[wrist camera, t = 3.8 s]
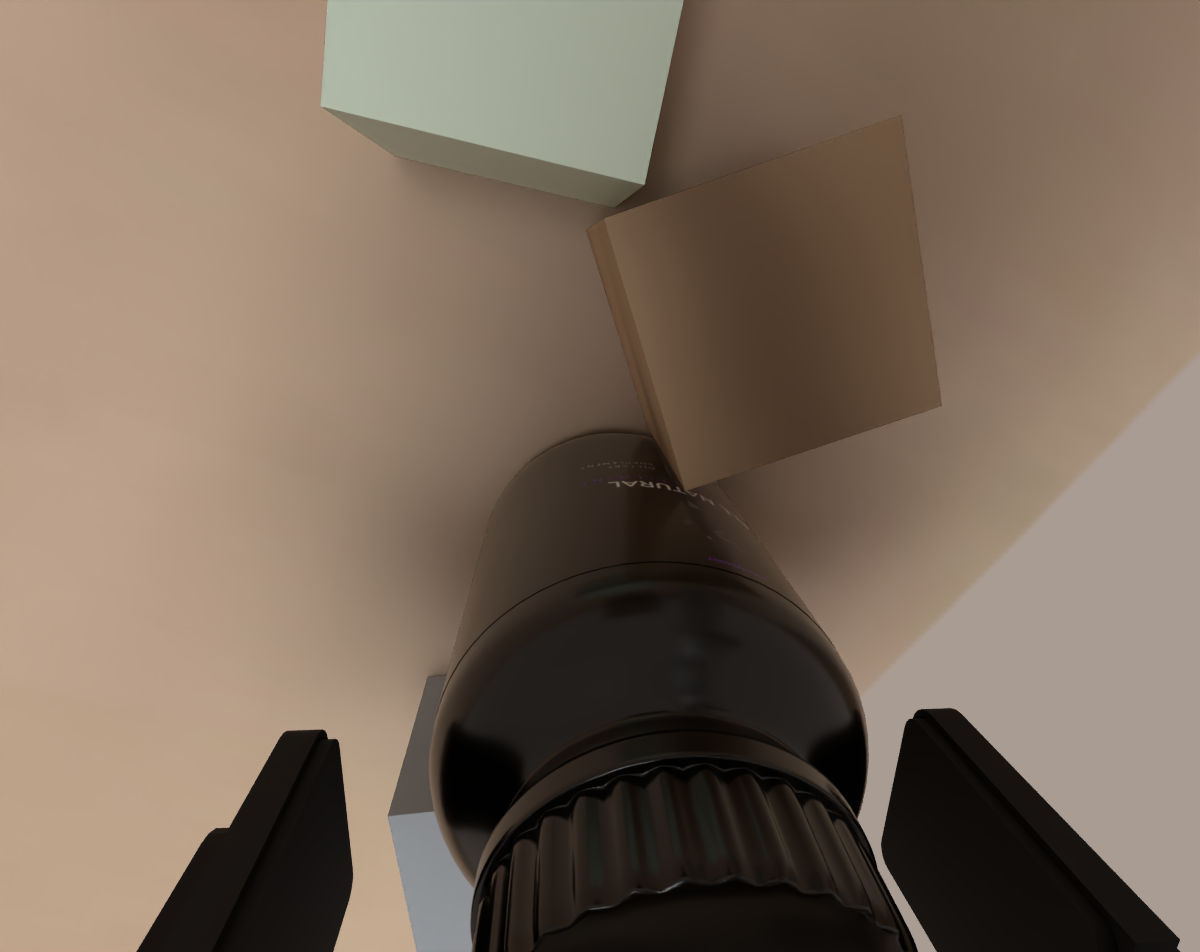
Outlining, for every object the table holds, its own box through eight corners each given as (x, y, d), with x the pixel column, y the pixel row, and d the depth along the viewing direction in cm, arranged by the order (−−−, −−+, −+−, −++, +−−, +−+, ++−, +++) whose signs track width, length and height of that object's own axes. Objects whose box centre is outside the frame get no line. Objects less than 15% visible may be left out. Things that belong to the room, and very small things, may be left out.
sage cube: (664, -43, 13) (727, -207, 9) (613, 207, 15) (644, 184, 10) (423, -114, 13) (350, -334, 8) (395, 156, 14) (320, 105, 9)
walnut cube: (788, 160, 15) (901, 114, 10) (829, 363, 16) (942, 405, 12) (586, 230, 15) (603, 218, 10) (646, 424, 17) (685, 490, 12)
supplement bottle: (702, 393, 16) (1045, 696, 5) (749, 614, 19) (1059, 1162, 7) (447, 465, 16) (225, 918, 5) (524, 676, 19) (489, 1312, 7)
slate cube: (598, 659, 19) (615, 791, 14) (606, 790, 21) (624, 949, 16) (428, 675, 19) (387, 816, 14) (450, 806, 20) (421, 973, 16)
